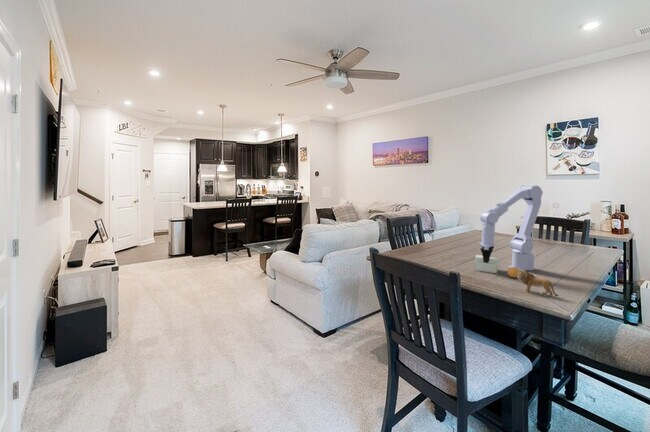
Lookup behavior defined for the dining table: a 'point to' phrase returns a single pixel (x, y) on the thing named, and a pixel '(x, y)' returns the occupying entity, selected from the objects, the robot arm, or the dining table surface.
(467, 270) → the dining table surface
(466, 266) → the dining table surface
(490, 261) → the pale green block
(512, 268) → the ball
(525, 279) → the lion figurine
